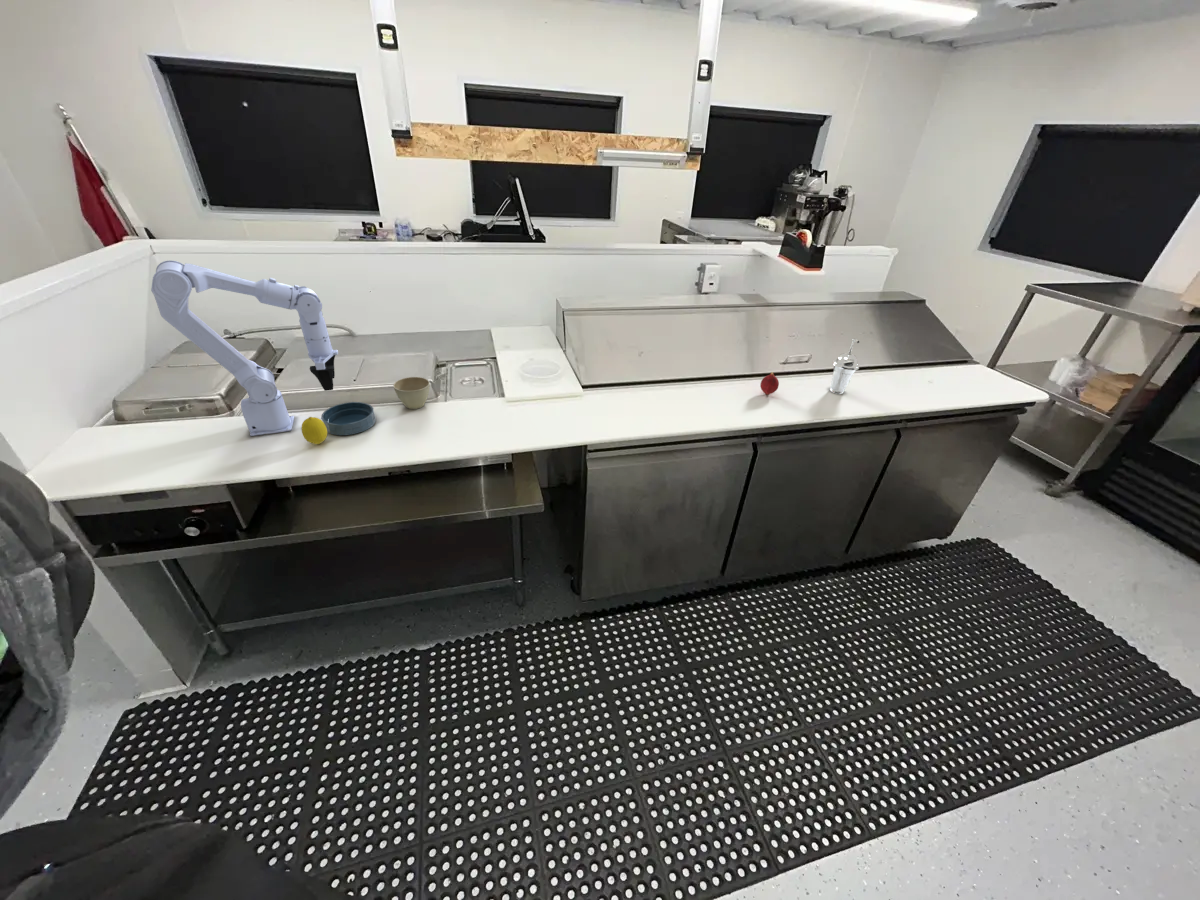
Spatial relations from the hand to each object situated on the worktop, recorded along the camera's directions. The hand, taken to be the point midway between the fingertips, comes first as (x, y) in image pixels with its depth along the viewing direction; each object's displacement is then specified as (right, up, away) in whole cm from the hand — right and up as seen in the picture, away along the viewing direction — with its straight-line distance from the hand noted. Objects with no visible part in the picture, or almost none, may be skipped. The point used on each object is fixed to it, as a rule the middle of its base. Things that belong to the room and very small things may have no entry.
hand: (329, 383), depth 134 cm
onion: (+131, 0, +30) cm, 135 cm away
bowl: (+6, -11, +1) cm, 12 cm away
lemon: (+2, -17, -8) cm, 19 cm away
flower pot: (+19, -5, +12) cm, 23 cm away
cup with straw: (+157, +2, +35) cm, 161 cm away
